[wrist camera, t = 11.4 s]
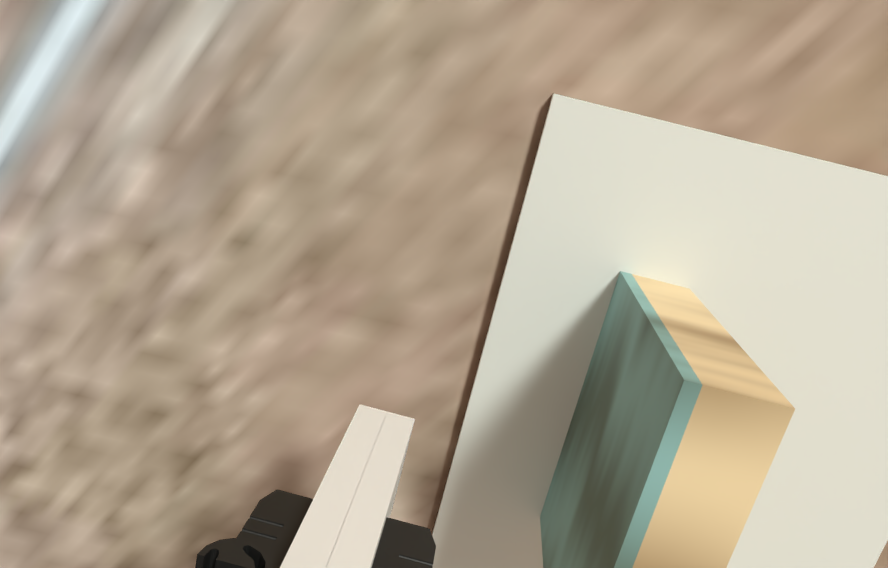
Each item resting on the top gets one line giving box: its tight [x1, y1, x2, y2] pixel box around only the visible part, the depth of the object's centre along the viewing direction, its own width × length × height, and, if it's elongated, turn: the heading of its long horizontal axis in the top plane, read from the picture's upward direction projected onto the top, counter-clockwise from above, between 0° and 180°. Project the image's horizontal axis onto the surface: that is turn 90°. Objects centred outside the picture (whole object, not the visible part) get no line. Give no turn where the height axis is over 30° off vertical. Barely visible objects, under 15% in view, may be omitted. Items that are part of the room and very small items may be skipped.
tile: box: [540, 271, 795, 568], centre depth 20 cm, size 10×2×9 cm, turn 166°
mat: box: [432, 93, 888, 568], centre depth 25 cm, size 16×20×1 cm
